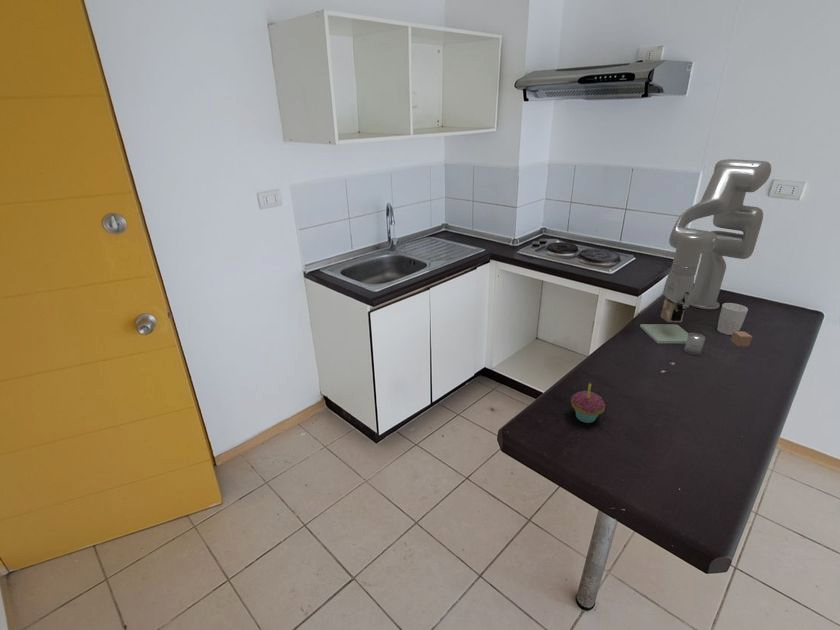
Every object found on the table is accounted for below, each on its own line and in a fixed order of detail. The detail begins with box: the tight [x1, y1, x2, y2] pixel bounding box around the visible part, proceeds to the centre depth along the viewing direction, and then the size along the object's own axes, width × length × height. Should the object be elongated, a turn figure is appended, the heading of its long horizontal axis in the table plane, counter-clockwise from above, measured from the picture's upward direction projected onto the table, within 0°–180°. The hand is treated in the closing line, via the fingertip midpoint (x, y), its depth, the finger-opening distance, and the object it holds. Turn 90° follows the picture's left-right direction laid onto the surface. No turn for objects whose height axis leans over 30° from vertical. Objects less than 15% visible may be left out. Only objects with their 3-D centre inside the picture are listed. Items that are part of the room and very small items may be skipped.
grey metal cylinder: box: [683, 332, 706, 356], centre depth 150 cm, size 5×5×6 cm
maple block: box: [660, 298, 686, 323], centre depth 159 cm, size 5×5×7 cm
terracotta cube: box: [730, 330, 753, 348], centre depth 155 cm, size 4×4×4 cm
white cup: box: [716, 302, 749, 336], centre depth 163 cm, size 8×8×10 cm
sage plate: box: [639, 323, 689, 345], centre depth 163 cm, size 14×14×1 cm
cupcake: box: [570, 382, 606, 424], centre depth 115 cm, size 9×8×12 cm
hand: (671, 317), depth 160 cm, fingers closed on maple block, 4 cm apart
